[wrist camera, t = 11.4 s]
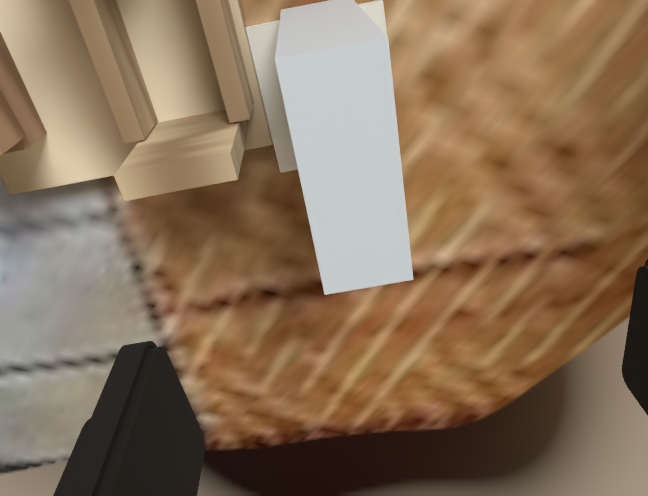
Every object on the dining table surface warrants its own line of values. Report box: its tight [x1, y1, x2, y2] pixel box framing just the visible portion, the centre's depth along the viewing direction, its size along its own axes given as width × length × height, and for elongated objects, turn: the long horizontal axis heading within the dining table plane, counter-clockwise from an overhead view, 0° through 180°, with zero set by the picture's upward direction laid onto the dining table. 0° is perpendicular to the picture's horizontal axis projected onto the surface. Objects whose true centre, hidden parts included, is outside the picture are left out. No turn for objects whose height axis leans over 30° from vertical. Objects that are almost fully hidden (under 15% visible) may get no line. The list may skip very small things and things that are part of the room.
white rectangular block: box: [275, 0, 413, 295], centre depth 24 cm, size 4×9×12 cm, turn 10°
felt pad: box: [246, 0, 387, 173], centre depth 29 cm, size 7×8×1 cm
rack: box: [0, 0, 273, 201], centre depth 23 cm, size 15×16×8 cm
